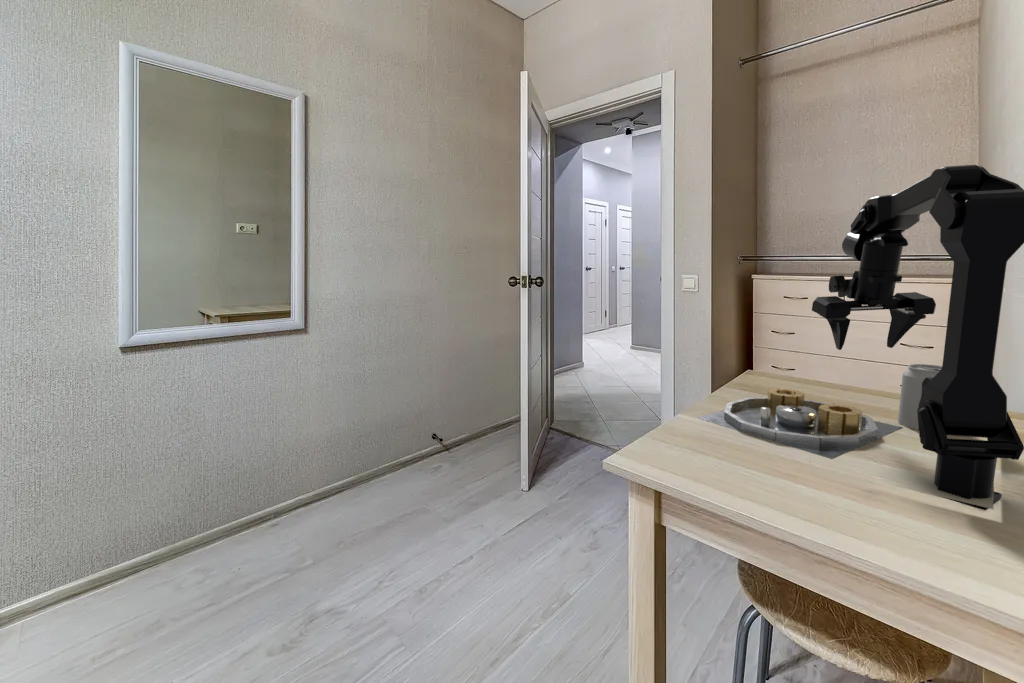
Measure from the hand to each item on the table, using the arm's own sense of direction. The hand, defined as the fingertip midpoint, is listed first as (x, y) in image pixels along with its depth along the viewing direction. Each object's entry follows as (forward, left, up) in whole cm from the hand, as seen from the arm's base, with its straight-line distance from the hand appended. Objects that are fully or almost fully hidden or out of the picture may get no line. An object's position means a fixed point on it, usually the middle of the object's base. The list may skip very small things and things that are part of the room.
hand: (864, 348), depth 93 cm
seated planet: (-9, +9, -13) cm, 19 cm away
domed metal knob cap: (-14, +5, -13) cm, 20 cm away
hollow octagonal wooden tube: (-12, -2, -13) cm, 18 cm away
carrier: (-14, +5, -14) cm, 21 cm away
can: (+3, -9, -15) cm, 18 cm away
